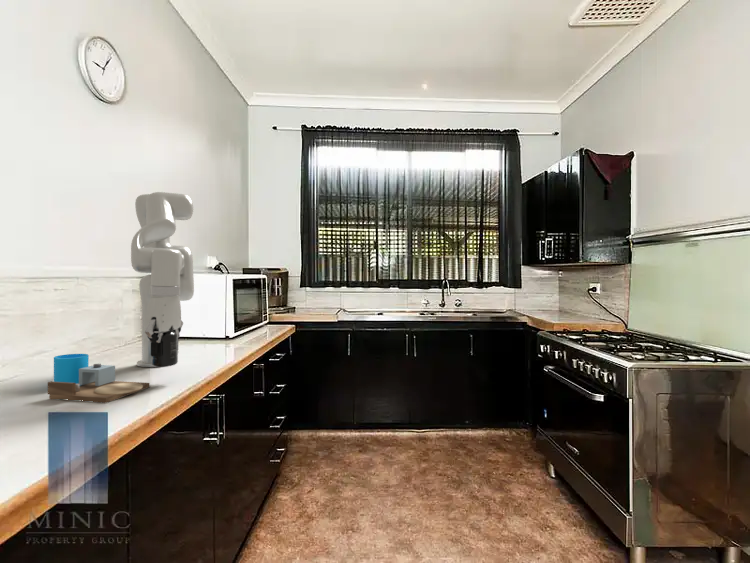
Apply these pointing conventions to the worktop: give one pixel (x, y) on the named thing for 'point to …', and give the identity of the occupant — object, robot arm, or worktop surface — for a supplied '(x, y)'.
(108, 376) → the cover
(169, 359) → the supplement bottle
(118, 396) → the board
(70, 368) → the mug
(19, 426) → the worktop surface
